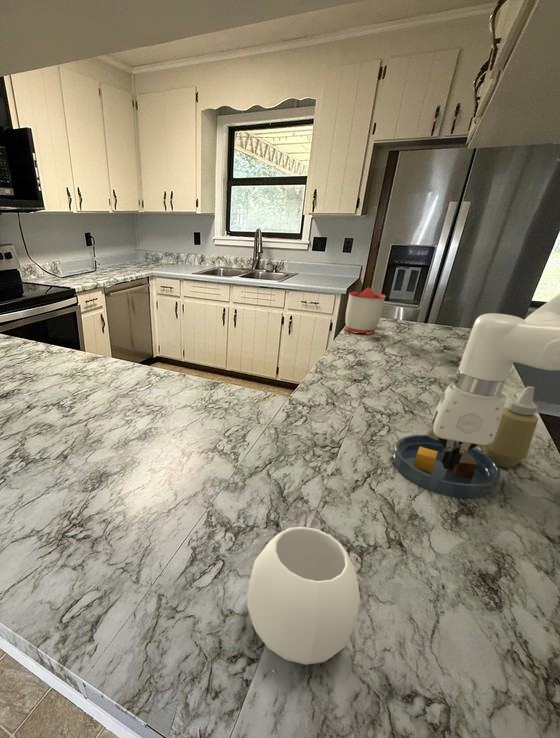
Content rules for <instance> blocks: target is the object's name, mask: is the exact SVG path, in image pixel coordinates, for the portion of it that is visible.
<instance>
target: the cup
mask: <svg viewBox="0 0 560 738" xmlns="http://www.w3.org/2000/svg"><path fill="white" fill-rule="evenodd" d="M360 605H361V593H360V586H359V580H358V576H357V572H356V568H355V566H354V564H353V561H352V560H351V557H350V555H349V553H348V552H347V550H346V549H345V547H344V546H343V544H342V543H341V542H340V541H339V540H337V539H336V538H335V537H334V536H333V535H331V534H329V533H327V532H325V531H323V530H320V529H318V528H314V527H313V528H312V527H307V526H298V527H296V526H295V527H289V528H287V529H285V530H283V531H281V532H279V533H277V534H276V535H275V536H274V537H272V538H271V540H269V542H268V543H267V544H266V546H265V547H264V548H263V550H261V552H260V553H259V555H257V557H256V559H254V562H253V567H252V570H251V574H250V579H249V585H248V592H247V610H248V613H249V616H250V621H251V623H252V626H253V628H254V630H255V633H256V634H257V636H258V637H259V638H260V640H261V641H262V642H263V643H264V645H265V646H266V648H267V649H268V650H270V651H272V652H273V653H274V654H276V655H277V656H278V657H281V658H282V659H284V660H285V661H288V662H293V663H298V664H300V665H307V666H308V665H312V664H313V665H314V664H320V663H325V662H326V661H327V660H329V659H331V658H332V657H334V656H335V655H337V654H338V653H339V652H341V650H344V648H346V647H347V645H348V642H349V640H350V638H351V636H352V633H353V631H354V628H355V625H356V623H357V620H358V617H359V611H360Z"/></svg>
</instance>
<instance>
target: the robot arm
mask: <svg viewBox="0 0 560 738" xmlns="http://www.w3.org/2000/svg"><path fill="white" fill-rule="evenodd" d="M514 363H517V364H522V365H524V366H527V367H531V368H536V369H539V370H544V371H560V293H559V294H556V295H555V296H554V297H553V298H551V299H549V300H548V301H547V302H545V303H544V304H543V305H541V306H540V307H539V308H537V309H536V310H534V311H533V312H532V313H530V314H529V315H528V316H527V317H526V318H524V319H523V318H522V317H519V316H516V315H513V314H505V313H495V312H493V313H492V312H490V313H484V314H481V315H479V316H478V317H477V318H475V321H474V323H473V325H472V329H471V331H470V334H469V338H468V340H467V343H466V347H465V348H464V352H463V355H462V358H461V361H460V363H459V367H458V369H456V371H455V372H453V373H447V375H446V380H447V381H450V382H451V383H449V384H448V386H447V387H446V389H445V390H444V392H443V394H442V396H441V398H440V399H439V402H438V404H437V405H436V408H435V411H434V413H433V415H432V419H431V422H430V423H431V424H430V427H429V429H428V430H427V432H426V435H428V437H430V438H432V439H435V440H438V441H440V443H441V444H442V445H443V446H444V449H443V451H442V454H441V457H440V461H441V462H442V464H443V466H444V469H450V470H454V468H455V465H458V464H459V461H460V459H461V456H462V454H465V453H466V452H467V451H468V450H470V449H472V448H475V449H476V448H483V447H488V446H489V445H490V444H491V443H492V442H493V441H494V439H495V436H496V433H497V431H498V428H499V424H500V421H501V417H502V413H503V409H504V408H505V401H506V394H504V393H503V389H504V387H505V384H506V382H507V379H508V377H509V375H510V372H511V370H512V368H513V366H514ZM454 441H458V442H457V444H456V445H455V446H453V445H454Z"/></svg>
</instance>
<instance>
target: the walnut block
mask: <svg viewBox="0 0 560 738" xmlns="http://www.w3.org/2000/svg"><path fill="white" fill-rule="evenodd" d="M477 466H478V464H477V463H476V461H475V460H474V459H473V458H472V457H471V456H470V455H462V456H461V459H460V461H459V464H458V465H455V468H454V470H450V469H449V470H450V471H451V473H452V474H453V475H454V477H463V478H473V476H474V473H475V471H476V468H477Z"/></svg>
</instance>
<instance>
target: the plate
mask: <svg viewBox="0 0 560 738" xmlns="http://www.w3.org/2000/svg"><path fill="white" fill-rule="evenodd" d="M457 442H458V441H454V445H453V446H455V445H456V444H457ZM419 447H423V448H427V449H430V450H434V451H438V453H437V457H436V460H435V463H434V466H433V469H432V472H427V471H424V470H421V469H418V468H415V467H414V462H415V459H416V456H417V453H418V450H419ZM443 449H444V446H443V445H442V444H441V443H440V441H438V440H435V439H432V438H430V437H428V434H412V435H408V436H404V437H402V438H401V439H400V438H399V440H397V442H396V444H395V445H394V449H393V453H392V457H391V459H392V465H393V466H394V468H395V469H396V470H397V472H399V473H400V474H401V475H402V476H403V477H404V478H406V479H407V480H408V481H410V482H411V483H414V485H415V484H416V485H417V486H419V487H421V488H424V489H426V490H428V491H431V492H433V493H436V494H440V495H443V496H448V497H452V498H460V499H481V498H484V497H487V496H490V495H491V494H492V493H493V492H494V491H495V490H496V488H497V485H498V483H499V481H500V479H501V469H500V466H498V465H497V464H496V463H495V462H494V461H493V460H492V459H491V458H490V457H489V456H487V455H486V454H484V453H483V452H482V451H481V450H479V449H478V448H476V447H475V448H472V449H470V450H468V451H467V452H466V453H465V454H462V455H470V456H471V457H472V458H473V459H474V460H475V461H476V463H477V464H478V466H477V468H476V471H475V473H474V476H473V478H463V477H454V475H453V474H452V473H451V471H450V470H449V469H444V466H443V464H442V462H441V461H440V457H441V454H442V451H443Z"/></svg>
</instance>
